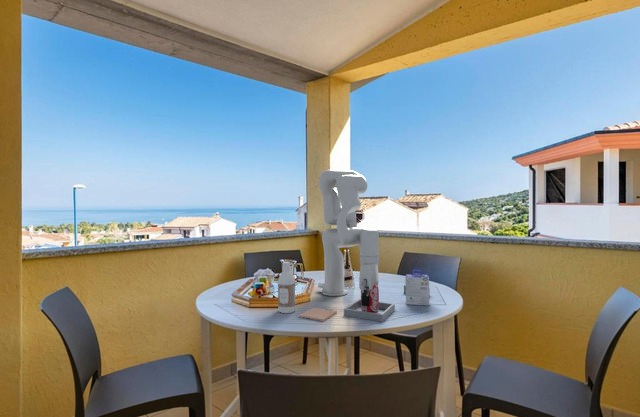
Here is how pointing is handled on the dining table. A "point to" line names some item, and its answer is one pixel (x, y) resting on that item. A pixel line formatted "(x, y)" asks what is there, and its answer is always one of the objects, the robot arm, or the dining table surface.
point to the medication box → (405, 289)
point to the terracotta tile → (318, 314)
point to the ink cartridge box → (417, 289)
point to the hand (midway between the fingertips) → (370, 302)
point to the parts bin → (369, 315)
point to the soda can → (372, 300)
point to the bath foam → (286, 290)
